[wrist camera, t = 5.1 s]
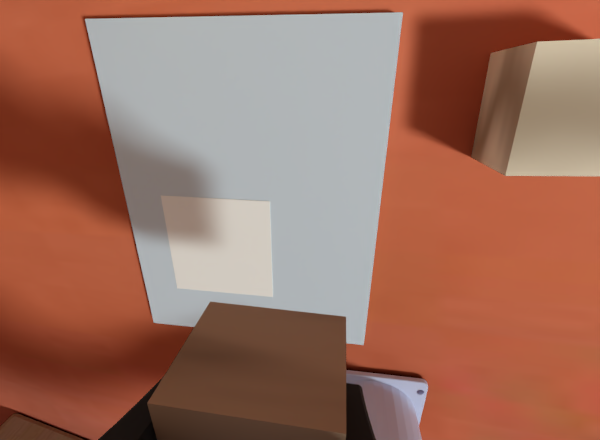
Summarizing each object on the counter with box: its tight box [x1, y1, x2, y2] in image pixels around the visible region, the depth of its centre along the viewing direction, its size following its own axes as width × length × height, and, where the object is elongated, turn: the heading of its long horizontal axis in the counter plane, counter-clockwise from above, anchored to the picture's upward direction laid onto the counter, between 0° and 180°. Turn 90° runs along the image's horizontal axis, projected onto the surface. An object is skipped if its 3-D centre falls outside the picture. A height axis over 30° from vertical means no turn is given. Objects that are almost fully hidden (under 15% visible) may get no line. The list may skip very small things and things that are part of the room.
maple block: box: [471, 39, 600, 176], centre depth 14 cm, size 5×5×4 cm
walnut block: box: [147, 302, 346, 440], centre depth 10 cm, size 5×5×4 cm
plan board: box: [85, 12, 403, 345], centre depth 19 cm, size 20×16×1 cm
